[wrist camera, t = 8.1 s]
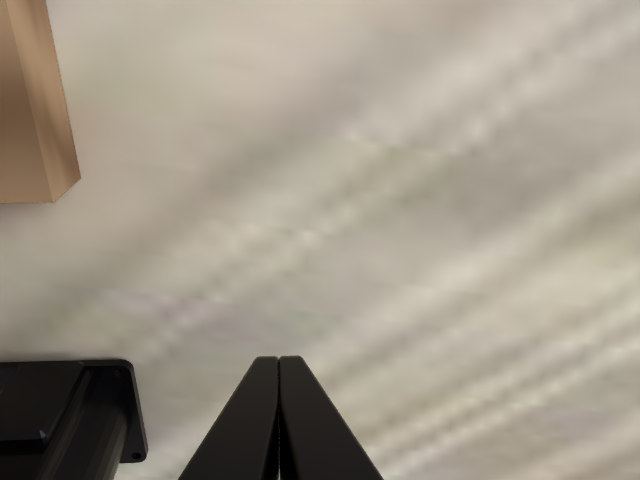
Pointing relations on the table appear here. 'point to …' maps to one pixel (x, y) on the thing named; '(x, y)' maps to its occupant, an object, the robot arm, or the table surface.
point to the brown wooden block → (32, 109)
